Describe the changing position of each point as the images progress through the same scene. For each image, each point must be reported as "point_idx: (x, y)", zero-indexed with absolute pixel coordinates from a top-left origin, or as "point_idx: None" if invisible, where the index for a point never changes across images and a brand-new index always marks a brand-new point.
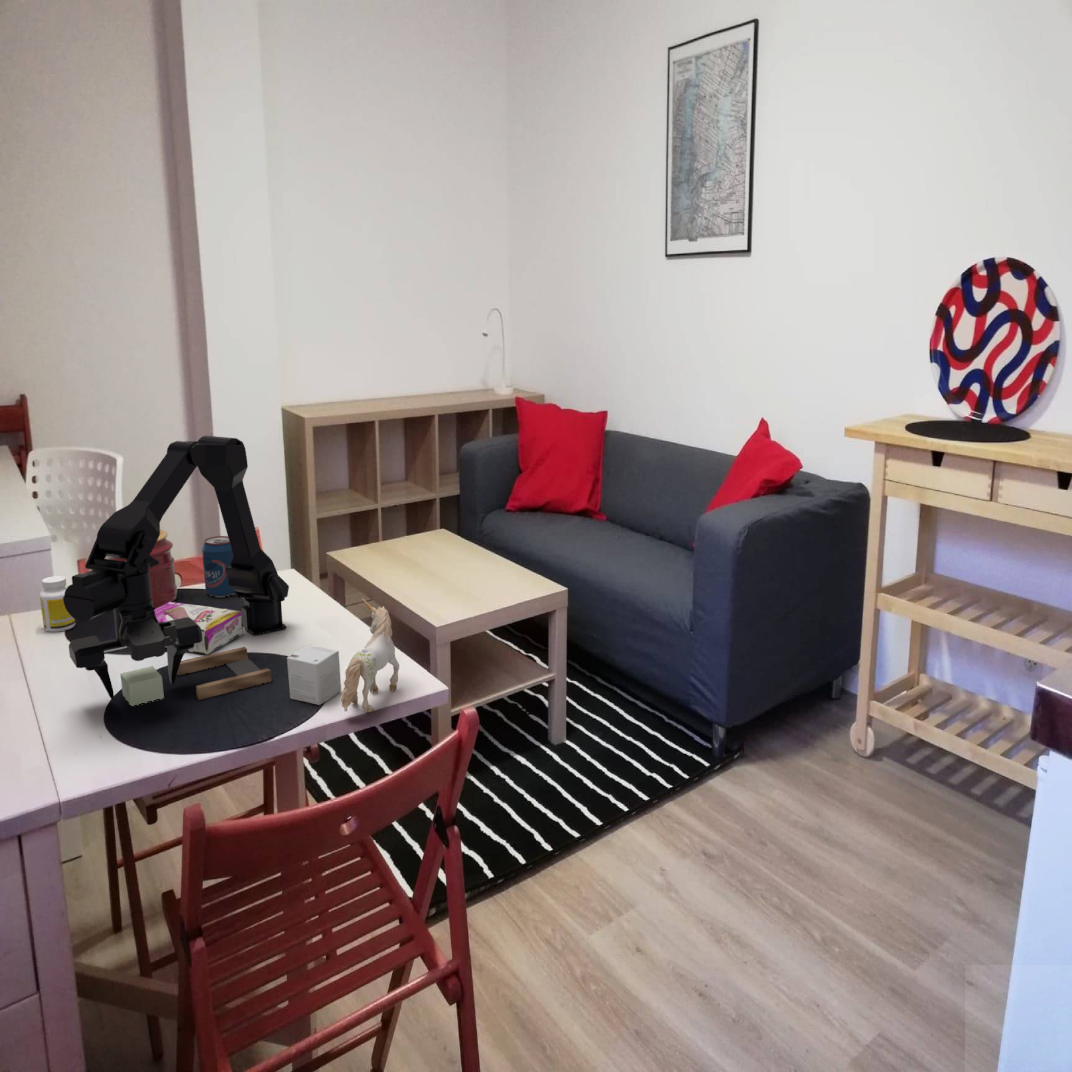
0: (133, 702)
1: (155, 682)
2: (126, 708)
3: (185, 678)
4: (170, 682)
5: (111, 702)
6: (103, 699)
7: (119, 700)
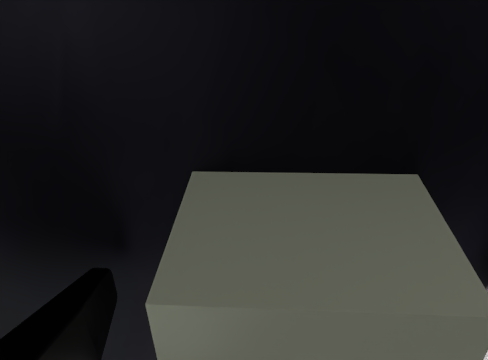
0: (407, 190)
1: (222, 268)
2: (454, 169)
3: None
4: (113, 290)
5: None
6: None
7: None
